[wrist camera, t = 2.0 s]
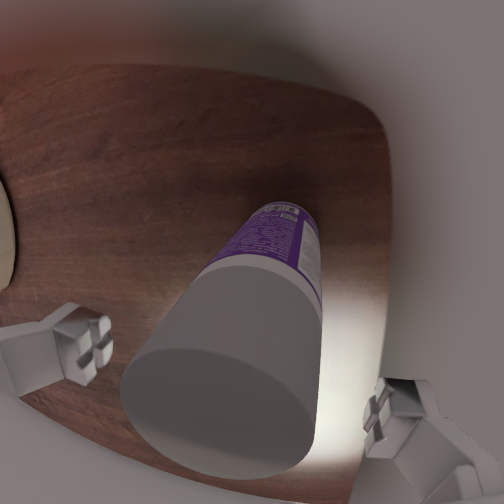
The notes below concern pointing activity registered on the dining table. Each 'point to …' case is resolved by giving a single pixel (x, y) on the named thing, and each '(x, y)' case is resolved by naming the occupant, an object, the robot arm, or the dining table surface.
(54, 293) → the dining table surface
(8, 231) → the bowl
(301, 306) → the container
